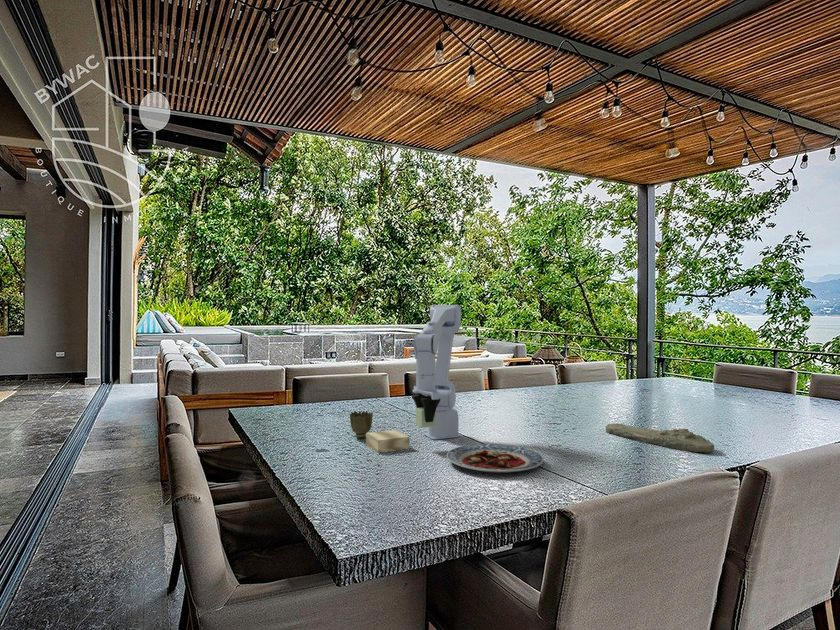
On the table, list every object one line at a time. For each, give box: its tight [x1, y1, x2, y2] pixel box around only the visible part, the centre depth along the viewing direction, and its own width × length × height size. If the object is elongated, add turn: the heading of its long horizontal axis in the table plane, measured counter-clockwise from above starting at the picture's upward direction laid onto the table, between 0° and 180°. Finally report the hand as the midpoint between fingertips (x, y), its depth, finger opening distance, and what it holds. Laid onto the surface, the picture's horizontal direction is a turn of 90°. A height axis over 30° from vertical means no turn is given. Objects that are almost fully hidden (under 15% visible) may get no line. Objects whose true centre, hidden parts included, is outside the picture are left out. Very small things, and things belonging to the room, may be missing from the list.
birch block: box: [365, 429, 411, 454], centre depth 159 cm, size 10×10×4 cm
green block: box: [415, 407, 436, 428], centre depth 157 cm, size 4×4×5 cm
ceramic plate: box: [446, 443, 545, 474], centre depth 142 cm, size 26×26×3 cm
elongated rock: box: [605, 422, 715, 454], centre depth 166 cm, size 35×5×10 cm
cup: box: [349, 410, 374, 440], centre depth 170 cm, size 8×7×8 cm
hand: (425, 420), depth 157 cm, fingers closed on green block, 4 cm apart
